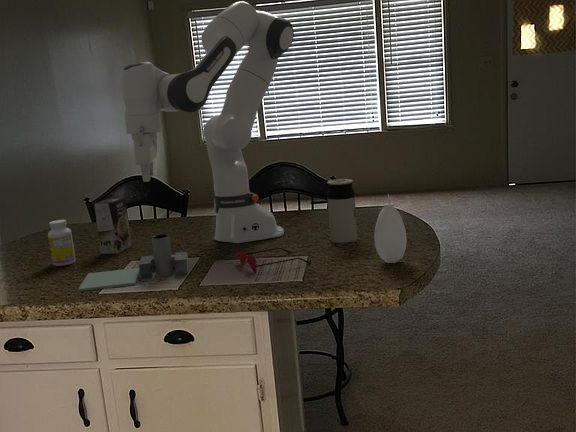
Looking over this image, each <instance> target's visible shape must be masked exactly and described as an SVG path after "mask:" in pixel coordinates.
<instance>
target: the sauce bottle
mask: <svg viewBox="0 0 576 432" xmlns="http://www.w3.org/2000/svg"><path fill="white" fill-rule="evenodd" d="M407 240H408V239H407V230H406V226H405V223H404V220H403V218H402V216H401V214H400V212H399V211H398V210H397V209H396V207H395V204H394V203H392V202H391V201H390V195H389V193H387V202H386V203H384V204H383V208H381V211H380V212H379V214H378V216H377V219H376V223H375V228H374V246H375V250H376V252H377V254H378V256H379V258H380V259H381V260H383V261H384V262H385V263H388V264H389V263H394V264H396V263H397V262H399V261H400V259H402V258H403V257H404V255H405V253H406V248H407V242H408V241H407Z"/></svg>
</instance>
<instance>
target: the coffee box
mask: <svg viewBox="0 0 576 432" xmlns="http://www.w3.org/2000/svg"><path fill="white" fill-rule="evenodd" d="M93 205H94V210H95V211H94V212H95V218H96V226H97V233H98V239H99V240H98V242H99V247H100V248H99V249H100V254H101V255H104V254H105V255H106V254H107V255H110V254H120V253H122V252H124V251H126V250H127V249H129V248H131V247H132V241H131V240H132V238H131V233H130V232H131V231H130V226H129V225H130V224H129V217H128V210H127V209H128V208H127V203H126V197H115V198H114V197H112V198H107V199H103V200H100V201H98V202H95V203H94V204H93Z"/></svg>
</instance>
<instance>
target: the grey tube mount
mask: <svg viewBox="0 0 576 432" xmlns="http://www.w3.org/2000/svg"><path fill="white" fill-rule="evenodd" d="M187 252H188V251H181V252H175V254H171V257H172V265H173V268H174V269H175V276H181V275H188V274H189V258H188V253H187ZM138 268H139V271H140V273H139V278H140V280H144V279H145V280H146V279H152V278H153V277H154V273H155V271H156V270H155V262H154V254H153V255H146V256H141V257H140V260H139V263H138Z"/></svg>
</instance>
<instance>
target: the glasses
mask: <svg viewBox="0 0 576 432" xmlns="http://www.w3.org/2000/svg"><path fill="white" fill-rule="evenodd" d="M275 250H282V251H284V252H286V253H287V254H289V253H291V254H292V252H291V251H290V250H287V249H286V248H282V247H275V248H274V247H273V248H270V249H264V250H263V249H262V250H260V251H253V252H248V251H247V250H245V249H244V248H239V251H238V252H237V254H236V255H235V257H236V258H238V260H239V262H240V264H241V266H243V265H244V266H245V263H247V264H248V266H249V267H250V269H251V271H252V272H253V274H254V273H256V274H257V268H259V267H263V266H271V265H274V264H280V263H285V262H290V261H296V260H300V261H303V262H305V263H306V264H308V265H312V264H311V263H312V262H310V261H308V260H306V259H304V258H301V257H294V258H289V259H285V260H284V259H283V260H279V261H273V262H269V263H268V262H267V263H261V264H258V265H257V259H256V258H255V256H254V255H253V254H259V253H264V252H270V251H275Z"/></svg>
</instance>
